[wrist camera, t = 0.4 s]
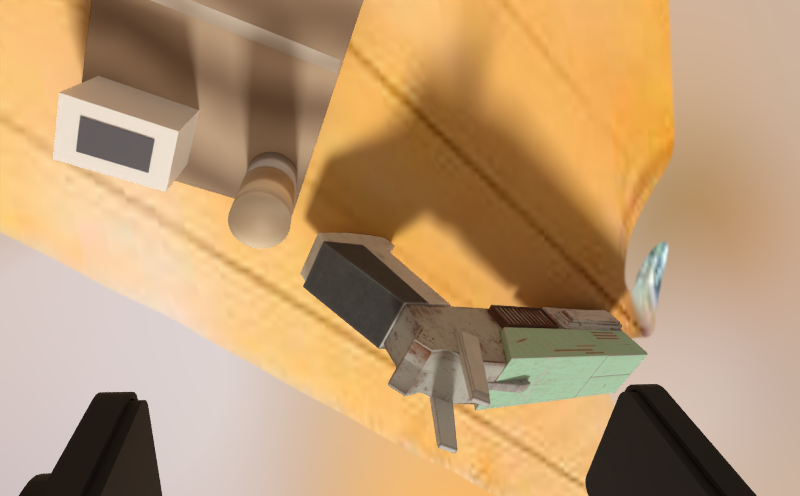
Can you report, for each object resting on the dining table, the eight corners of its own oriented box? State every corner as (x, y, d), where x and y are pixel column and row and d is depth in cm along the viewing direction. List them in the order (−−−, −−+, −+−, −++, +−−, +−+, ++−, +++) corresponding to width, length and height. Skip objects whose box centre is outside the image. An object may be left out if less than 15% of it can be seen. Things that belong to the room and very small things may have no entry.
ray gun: (317, 211, 41) (440, 396, 27) (547, 253, 61) (686, 373, 47) (288, 279, 44) (386, 478, 30) (517, 298, 64) (639, 424, 50)
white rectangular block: (98, 75, 36) (58, 93, 30) (199, 110, 38) (178, 131, 32) (91, 133, 37) (51, 159, 32) (187, 163, 39) (165, 192, 34)
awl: (254, 144, 39) (236, 186, 31) (303, 161, 40) (297, 205, 33) (242, 189, 41) (222, 239, 33) (289, 203, 42) (280, 255, 34)
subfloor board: (114, -131, 31) (107, -135, 30) (367, -16, 36) (368, -16, 35) (80, 146, 39) (74, 150, 38) (292, 209, 44) (291, 215, 43)
